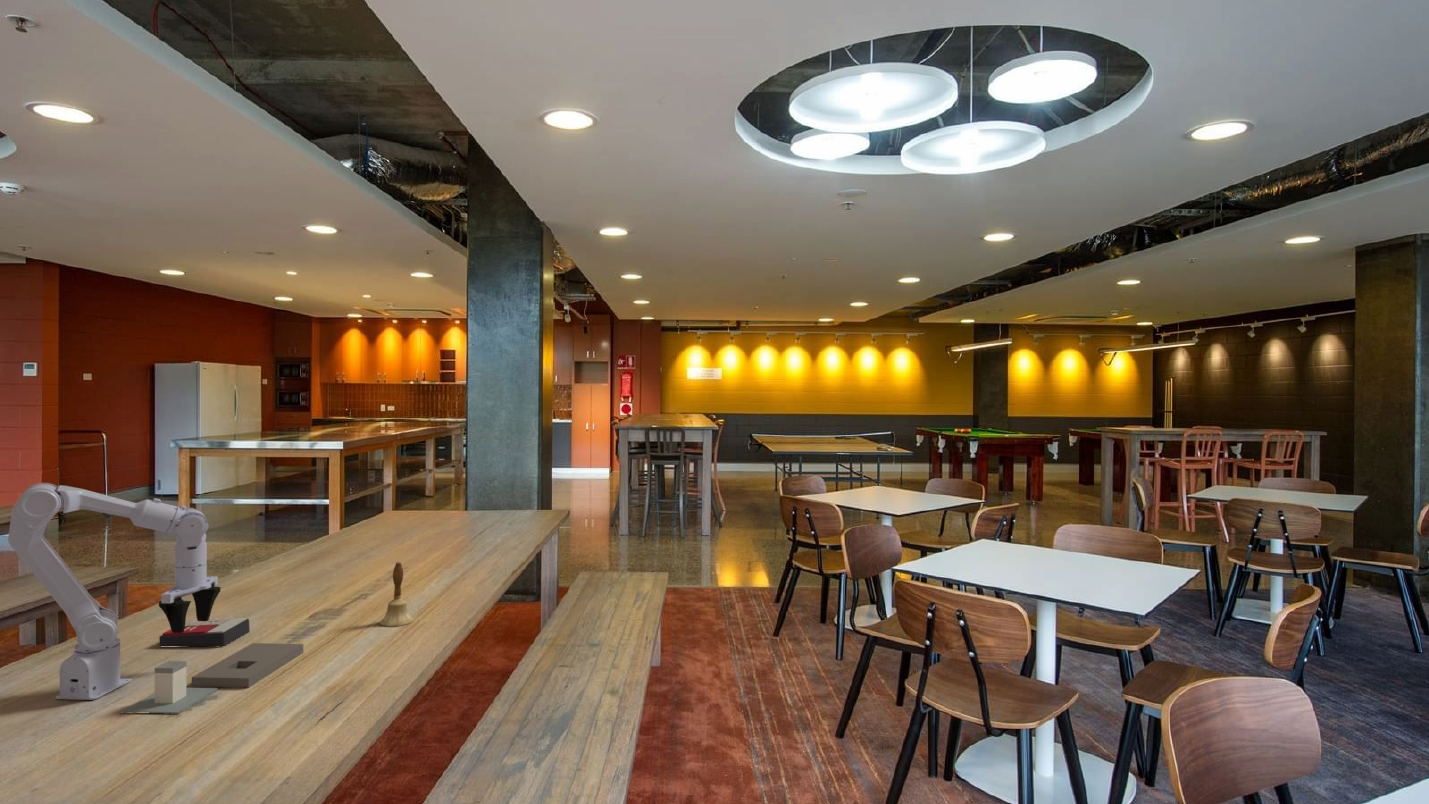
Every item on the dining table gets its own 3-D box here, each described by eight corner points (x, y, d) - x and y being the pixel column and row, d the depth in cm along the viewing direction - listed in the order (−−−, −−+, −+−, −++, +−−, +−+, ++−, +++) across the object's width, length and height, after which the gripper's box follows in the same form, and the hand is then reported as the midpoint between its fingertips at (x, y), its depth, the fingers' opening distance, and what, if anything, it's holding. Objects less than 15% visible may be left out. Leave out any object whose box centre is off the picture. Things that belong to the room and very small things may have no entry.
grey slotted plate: (248, 687, 152) (248, 678, 152) (191, 686, 152) (191, 677, 152) (303, 652, 172) (303, 644, 172) (252, 651, 172) (252, 643, 172)
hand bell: (404, 615, 201) (404, 557, 200) (419, 621, 195) (419, 562, 195) (374, 622, 194) (374, 563, 194) (389, 629, 189) (389, 568, 189)
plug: (172, 703, 143) (172, 668, 143) (154, 703, 143) (154, 667, 143) (186, 695, 147) (186, 661, 147) (168, 695, 147) (168, 660, 147)
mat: (178, 714, 139) (178, 712, 139) (121, 713, 139) (121, 711, 139) (217, 690, 150) (217, 688, 150) (164, 689, 150) (164, 687, 150)
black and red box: (188, 618, 184) (249, 615, 185) (189, 635, 185) (250, 632, 186) (158, 633, 173) (223, 630, 174) (159, 651, 174) (224, 647, 175)
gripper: (184, 573, 152) (184, 638, 152) (231, 557, 167) (231, 616, 167) (151, 573, 152) (151, 637, 153) (200, 556, 167) (200, 615, 167)
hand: (190, 626), depth 160 cm, fingers open, 7 cm apart
